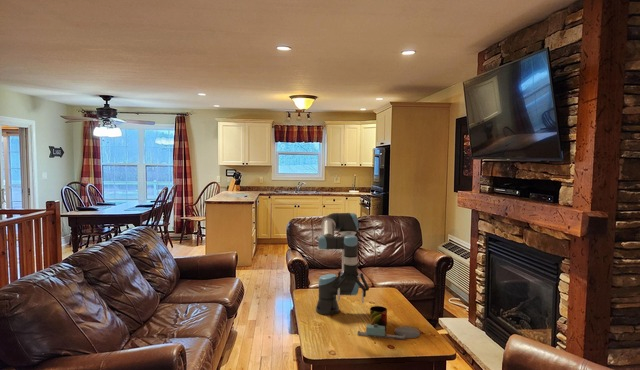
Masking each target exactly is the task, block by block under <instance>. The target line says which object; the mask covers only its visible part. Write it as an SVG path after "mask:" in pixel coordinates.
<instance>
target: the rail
mask: <svg viewBox="0 0 640 370" xmlns="http://www.w3.org/2000/svg"><path fill="white" fill-rule="evenodd" d="M357 336H362V337H370V338H371V337H373V338H374V337H375V338H380V339H392V340H401V341H405V340H406V338H405V335H403V336H397V335H396V334H387V333H385V336H377V335H367V334H366V332H364V331H360V330H357Z"/></svg>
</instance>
